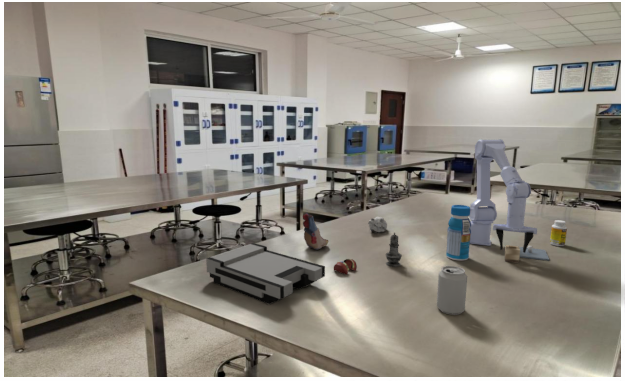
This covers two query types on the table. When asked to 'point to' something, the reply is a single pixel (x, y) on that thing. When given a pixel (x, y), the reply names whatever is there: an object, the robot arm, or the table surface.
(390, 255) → the stone pagoda statue
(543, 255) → the pin plate
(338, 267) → the pair of red halves
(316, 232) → the rooster figurine
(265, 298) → the game console
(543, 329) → the table surface
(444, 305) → the can
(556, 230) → the supplement bottle
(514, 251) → the sleeve
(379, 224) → the grey lumpy stone
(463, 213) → the beverage bottle
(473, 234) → the robot arm
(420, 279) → the table surface
